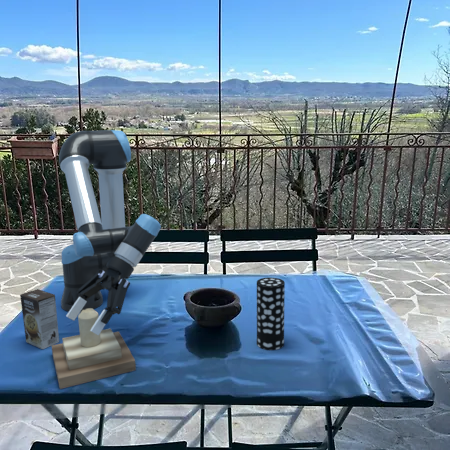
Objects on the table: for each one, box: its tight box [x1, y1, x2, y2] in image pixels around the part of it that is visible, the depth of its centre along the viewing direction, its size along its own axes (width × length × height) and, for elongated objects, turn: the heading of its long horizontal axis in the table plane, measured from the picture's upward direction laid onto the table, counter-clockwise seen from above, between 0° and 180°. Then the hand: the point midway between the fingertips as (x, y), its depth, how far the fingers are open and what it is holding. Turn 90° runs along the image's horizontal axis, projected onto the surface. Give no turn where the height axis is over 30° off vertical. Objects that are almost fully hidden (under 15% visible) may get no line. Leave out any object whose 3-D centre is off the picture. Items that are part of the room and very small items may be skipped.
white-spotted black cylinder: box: [256, 276, 286, 351], centre depth 136 cm, size 8×8×20 cm
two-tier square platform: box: [51, 328, 137, 390], centre depth 129 cm, size 20×20×6 cm
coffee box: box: [19, 288, 60, 350], centre depth 141 cm, size 9×6×16 cm
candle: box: [77, 308, 101, 347], centre depth 127 cm, size 6×6×10 cm
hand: (81, 325), depth 125 cm, fingers open, 13 cm apart
